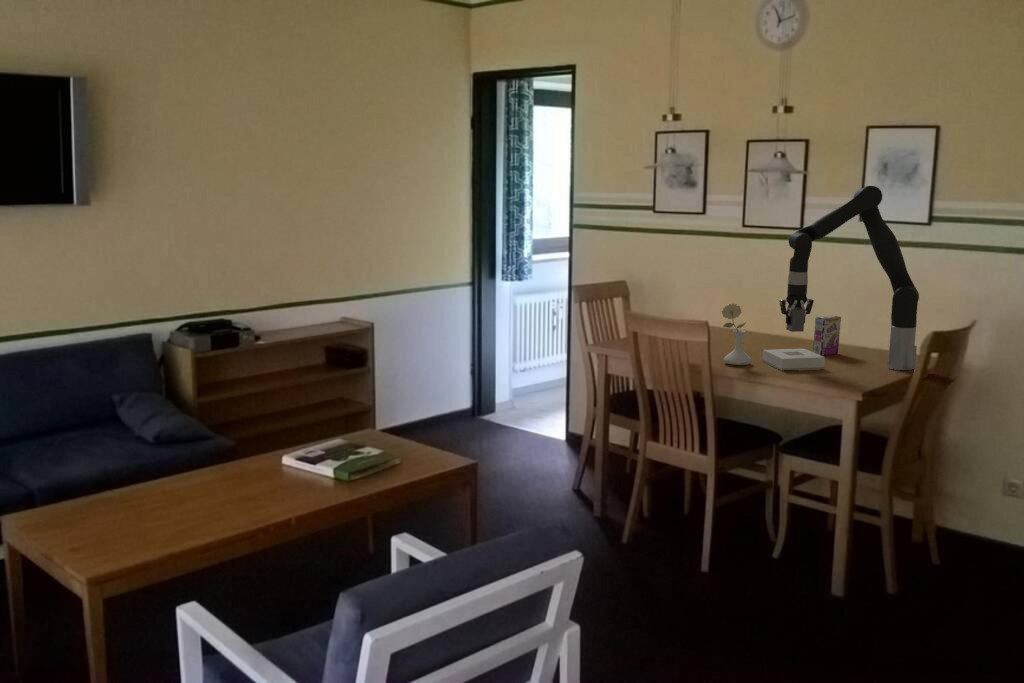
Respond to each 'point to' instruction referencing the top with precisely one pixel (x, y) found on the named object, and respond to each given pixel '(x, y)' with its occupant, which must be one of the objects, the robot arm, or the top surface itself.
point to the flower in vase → (737, 354)
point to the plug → (796, 320)
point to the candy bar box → (826, 335)
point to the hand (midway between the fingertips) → (795, 324)
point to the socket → (793, 359)
